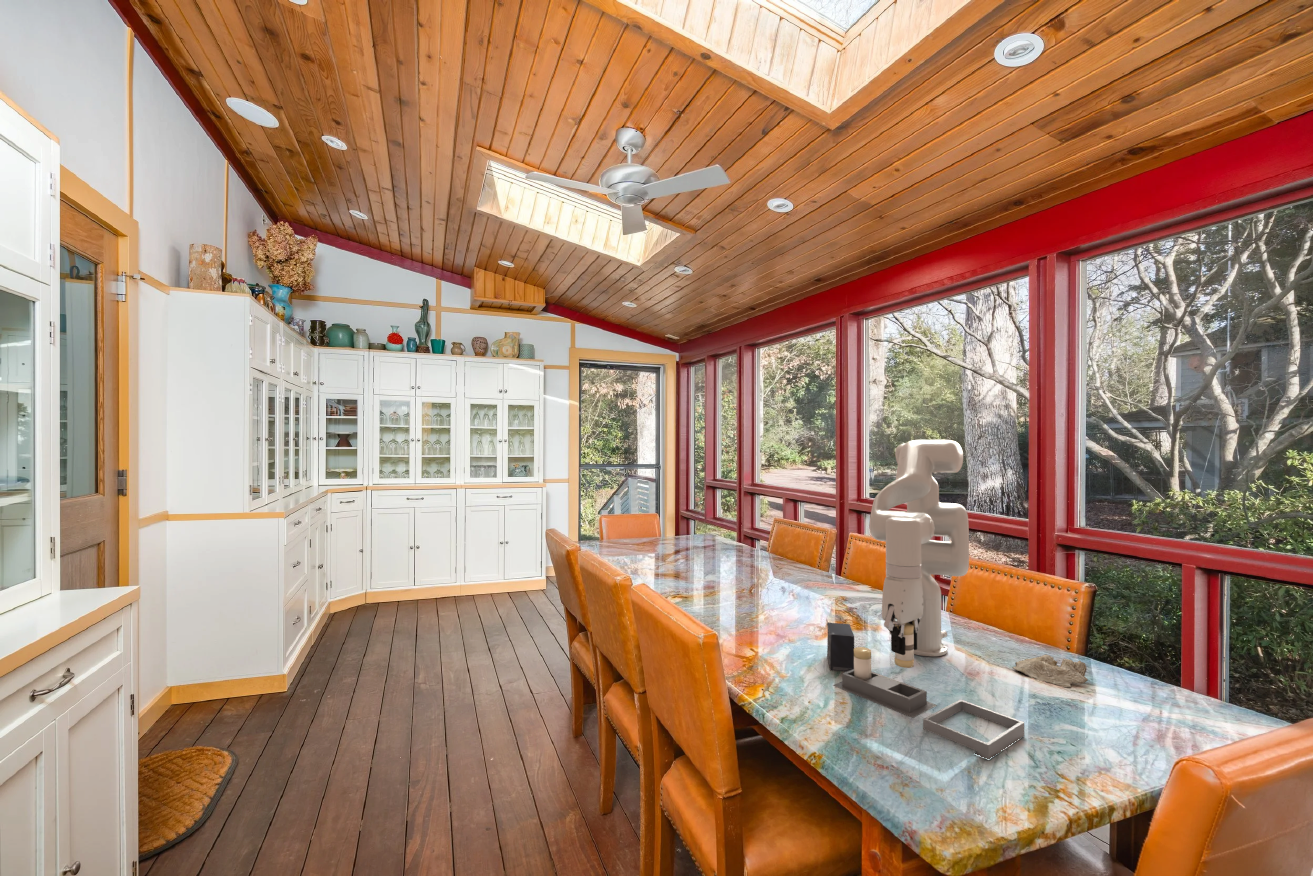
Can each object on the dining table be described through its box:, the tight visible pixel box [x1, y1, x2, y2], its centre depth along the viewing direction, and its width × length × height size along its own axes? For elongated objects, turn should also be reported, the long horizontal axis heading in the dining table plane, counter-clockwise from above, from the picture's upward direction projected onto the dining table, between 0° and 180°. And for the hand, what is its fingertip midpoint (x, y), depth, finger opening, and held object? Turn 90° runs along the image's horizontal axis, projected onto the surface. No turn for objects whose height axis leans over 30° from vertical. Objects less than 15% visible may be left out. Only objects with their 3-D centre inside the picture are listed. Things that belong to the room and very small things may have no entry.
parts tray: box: [922, 699, 1025, 759], centre depth 124 cm, size 15×13×3 cm
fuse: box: [854, 646, 872, 681], centre depth 145 cm, size 4×4×9 cm
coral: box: [1012, 654, 1088, 689], centre depth 155 cm, size 18×16×5 cm
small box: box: [826, 621, 855, 672], centre depth 160 cm, size 11×6×10 cm, turn 168°
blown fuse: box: [894, 623, 915, 669], centre depth 136 cm, size 4×4×9 cm
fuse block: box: [832, 669, 938, 719], centre depth 141 cm, size 10×21×4 cm, turn 36°
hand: (904, 649), depth 136 cm, fingers closed on blown fuse, 4 cm apart
